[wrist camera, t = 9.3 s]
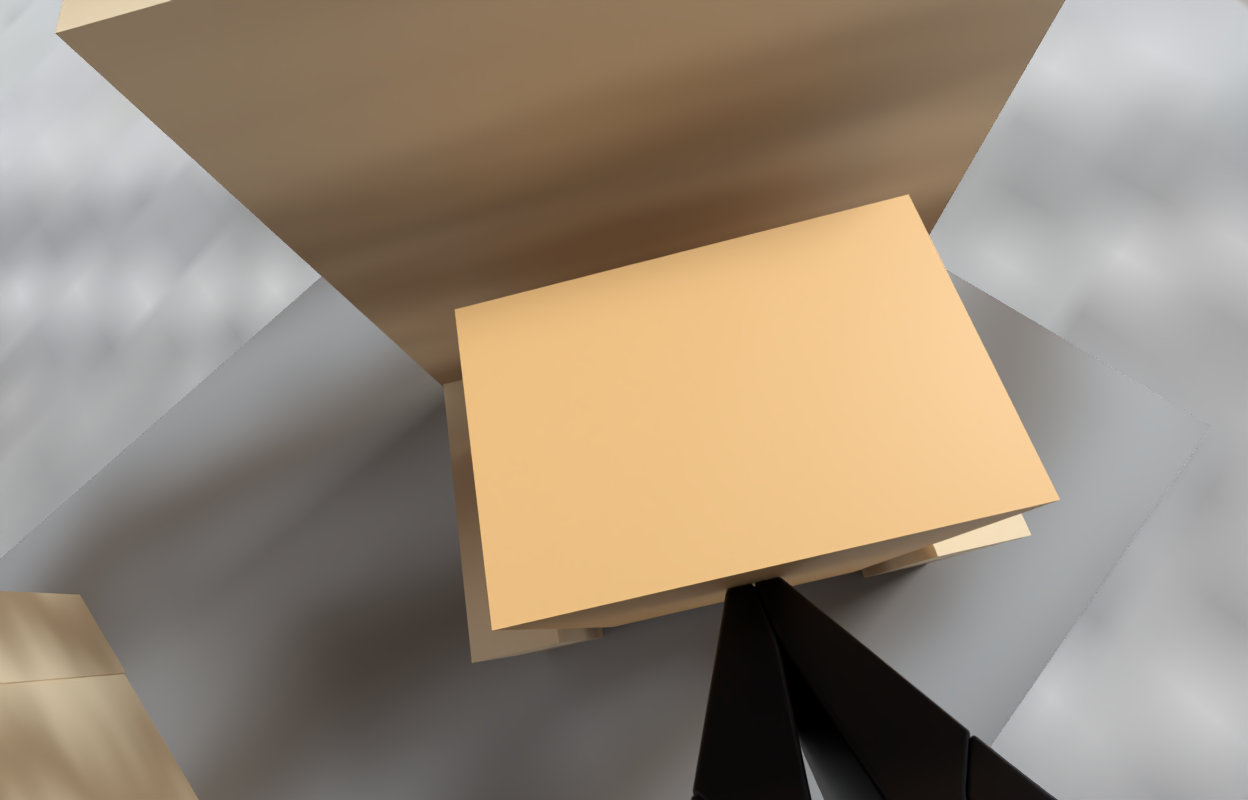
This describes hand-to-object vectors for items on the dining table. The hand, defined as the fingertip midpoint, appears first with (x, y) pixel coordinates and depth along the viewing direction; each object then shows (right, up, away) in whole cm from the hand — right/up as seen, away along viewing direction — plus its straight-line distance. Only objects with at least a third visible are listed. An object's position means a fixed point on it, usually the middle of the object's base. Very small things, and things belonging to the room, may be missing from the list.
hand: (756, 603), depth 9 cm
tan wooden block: (0, 0, +7) cm, 7 cm away
